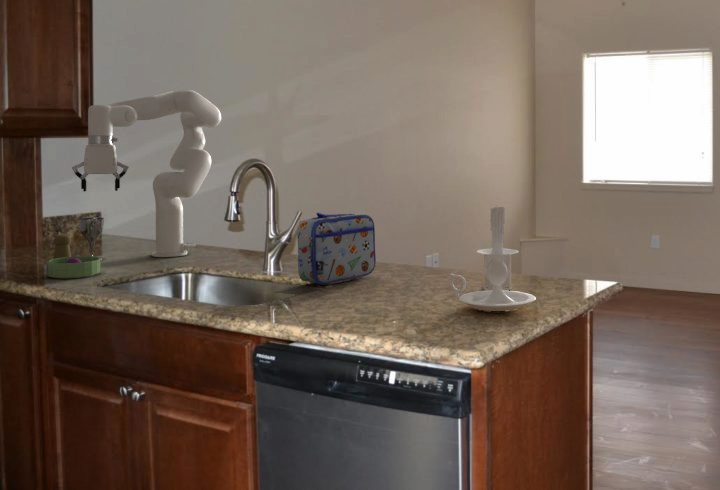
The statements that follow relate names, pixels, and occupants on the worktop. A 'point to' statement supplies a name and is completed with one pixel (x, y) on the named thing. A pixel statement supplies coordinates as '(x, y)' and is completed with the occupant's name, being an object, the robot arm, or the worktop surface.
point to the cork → (62, 246)
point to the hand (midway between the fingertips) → (100, 190)
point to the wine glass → (91, 229)
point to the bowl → (73, 267)
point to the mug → (486, 265)
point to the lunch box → (336, 248)
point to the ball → (73, 260)
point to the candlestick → (495, 275)
